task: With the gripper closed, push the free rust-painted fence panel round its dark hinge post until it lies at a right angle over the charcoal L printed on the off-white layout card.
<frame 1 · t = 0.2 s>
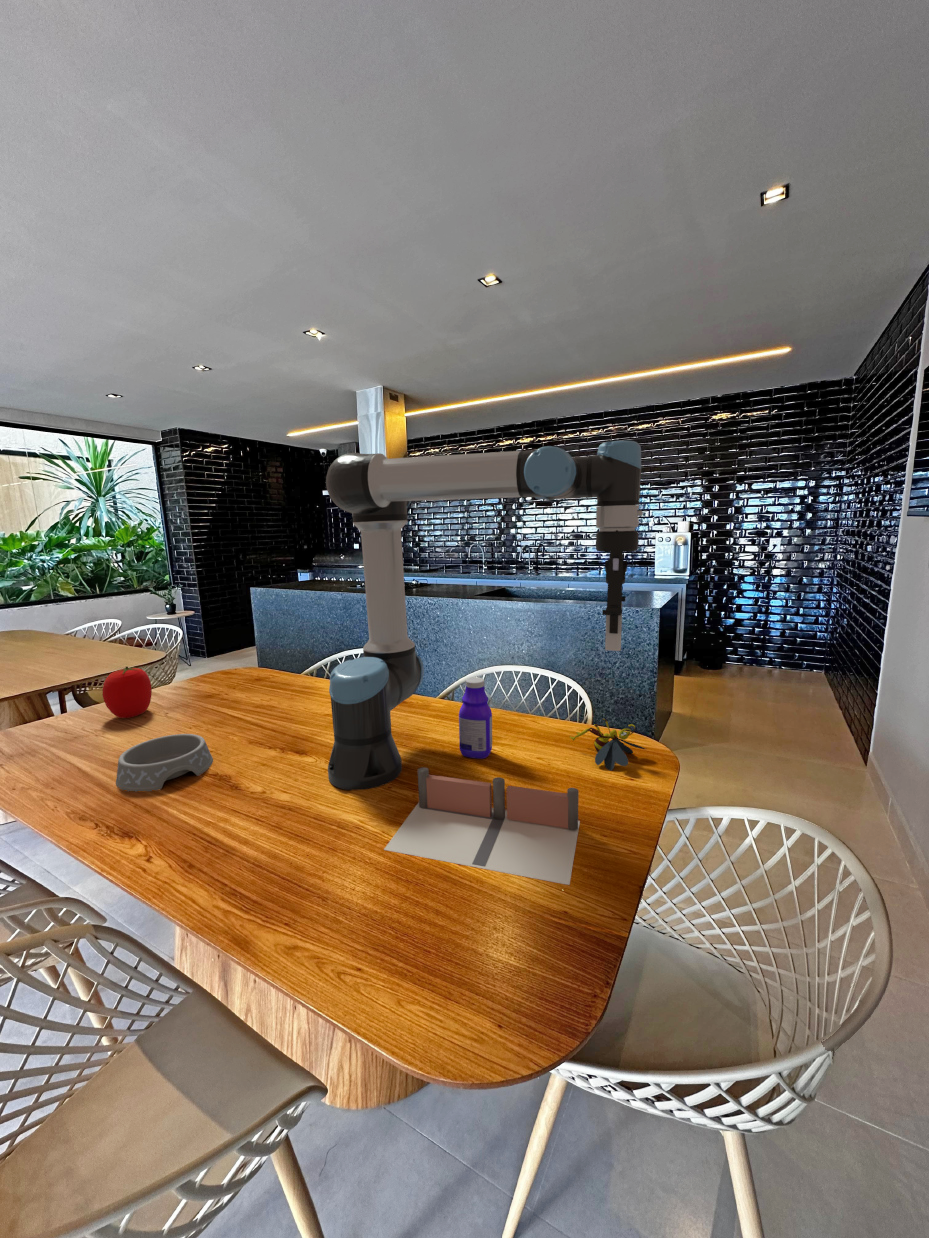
hand: (613, 641, 98), 28 cm above the table, fingers open, 13 cm apart
dog bowl: (166, 771, 110), on the table
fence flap: (542, 804, 85), point 4 cm above the table, hinge at 0.0°
bottle: (476, 755, 113), on the table
tomato: (132, 715, 143), on the table
toy: (603, 757, 110), on the table
layout card: (485, 836, 83), on the table
fence fixed: (499, 817, 88), resting on layout card
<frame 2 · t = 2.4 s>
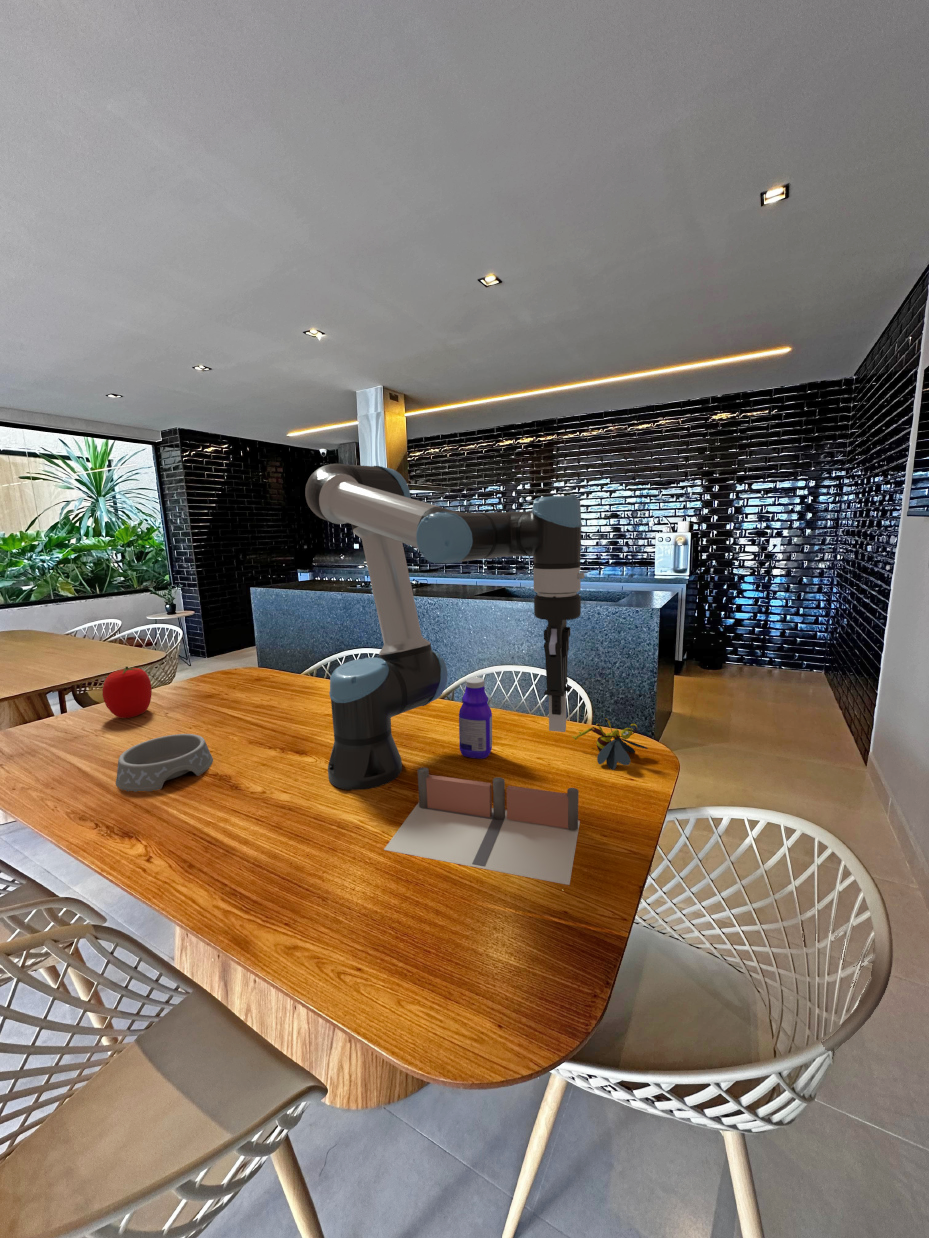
hand: (557, 729, 87), 16 cm above the table, fingers closed
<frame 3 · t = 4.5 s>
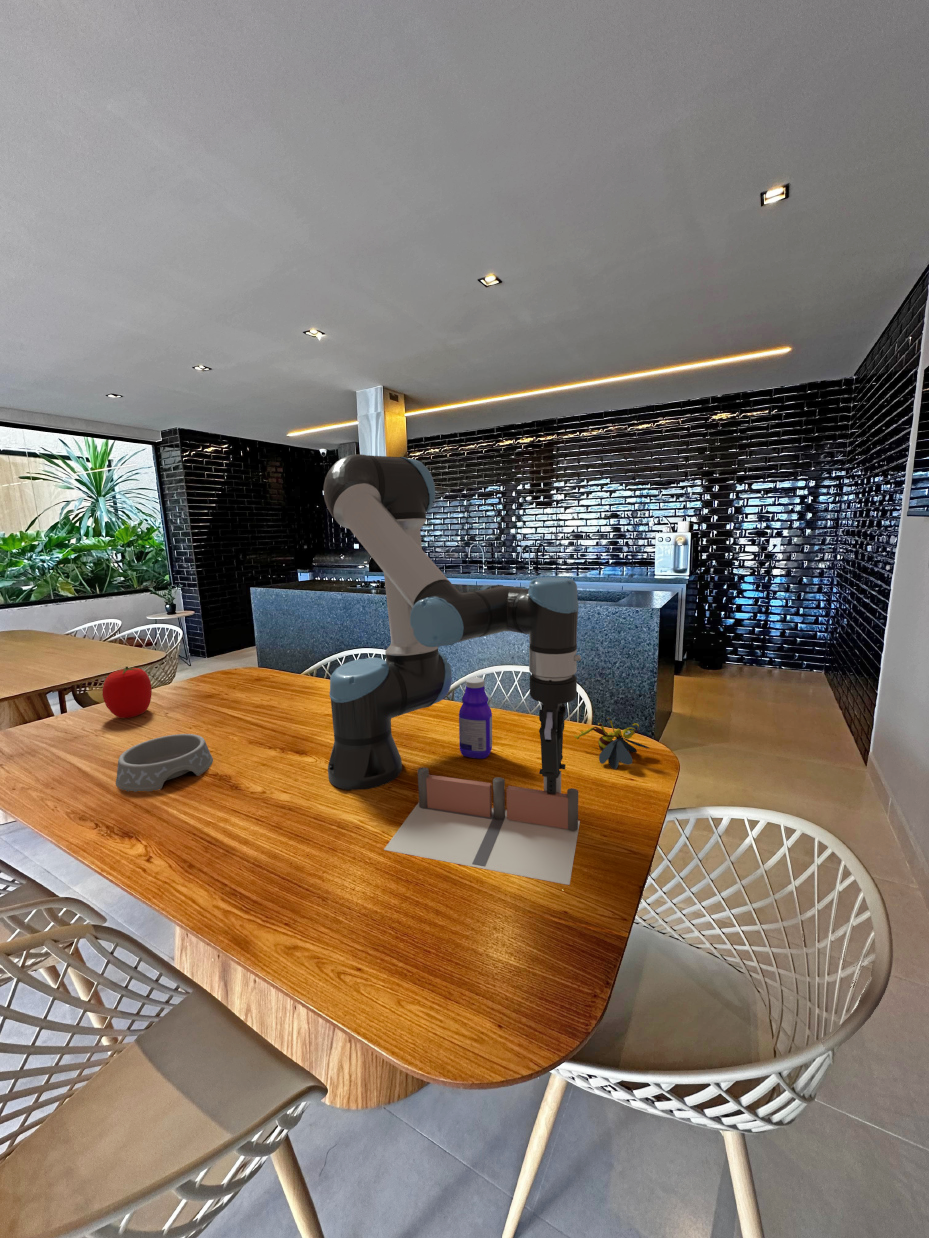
hand: (552, 807, 86), 3 cm above the table, fingers closed
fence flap: (542, 804, 85), point 4 cm above the table, hinge at 0.9°
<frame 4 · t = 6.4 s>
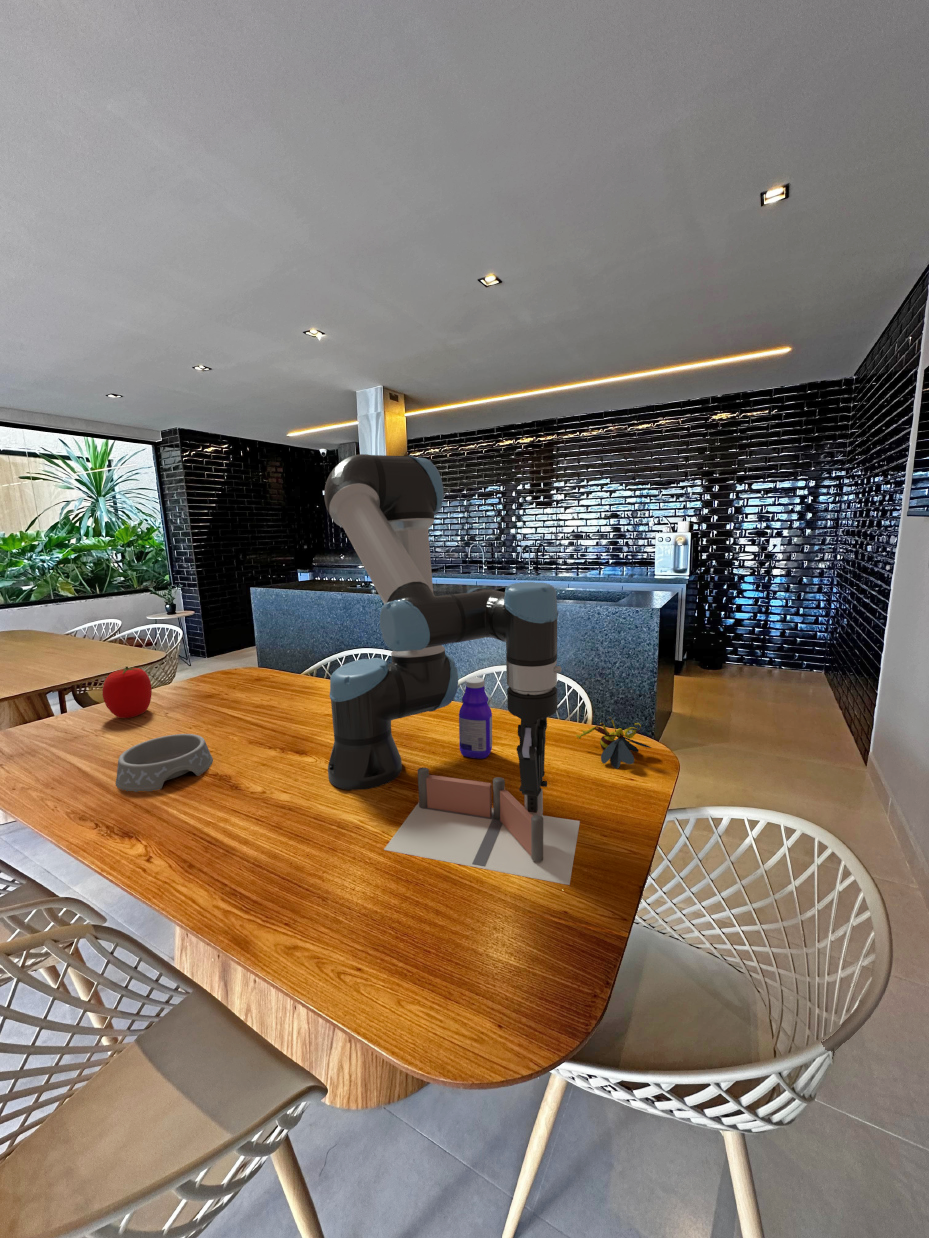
hand: (533, 825, 81), 3 cm above the table, fingers closed
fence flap: (520, 820, 81), point 4 cm above the table, hinge at 48.8°, touching gripper
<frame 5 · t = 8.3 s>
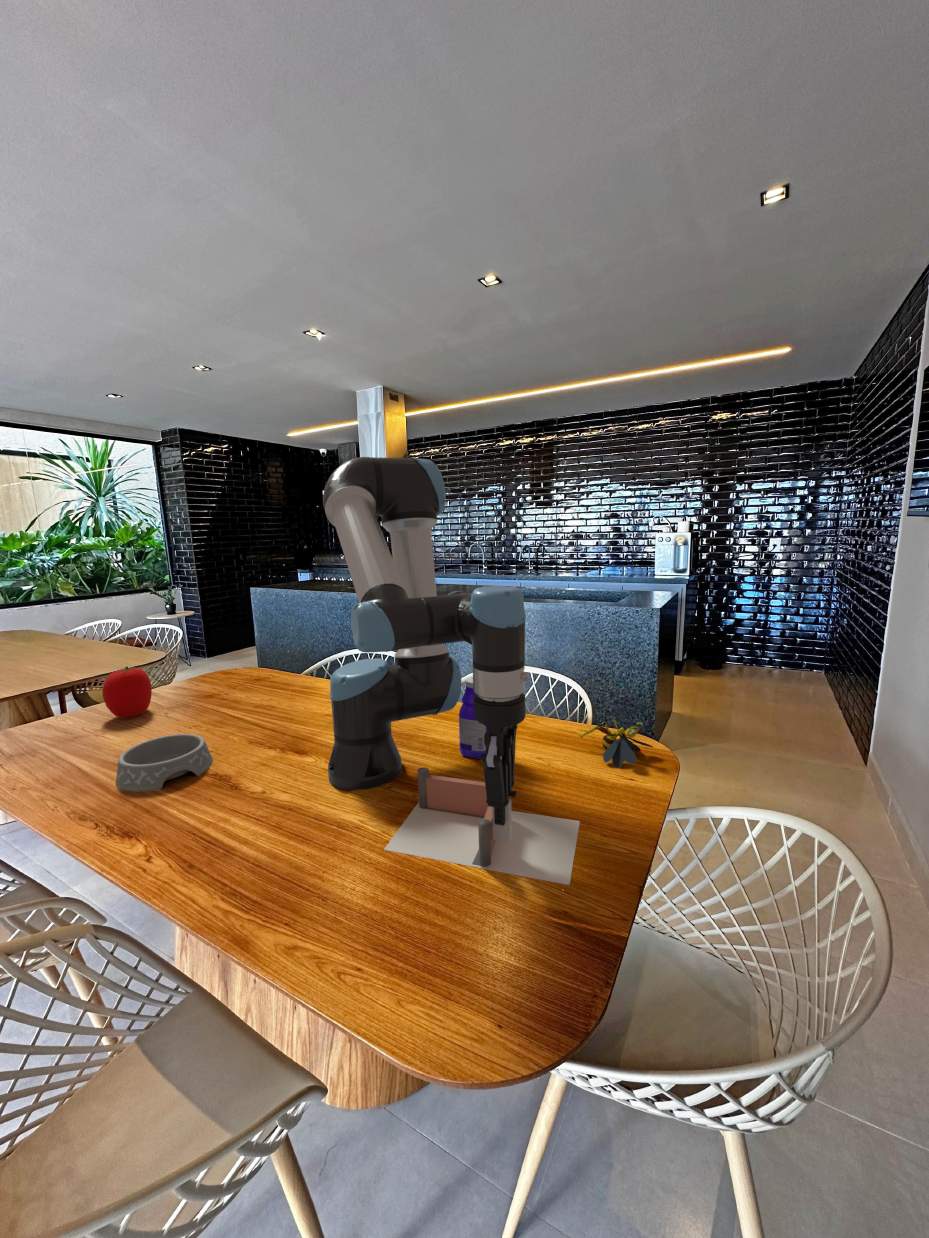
hand: (502, 838, 78), 3 cm above the table, fingers closed
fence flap: (491, 823, 80), point 4 cm above the table, hinge at 85.9°, touching gripper
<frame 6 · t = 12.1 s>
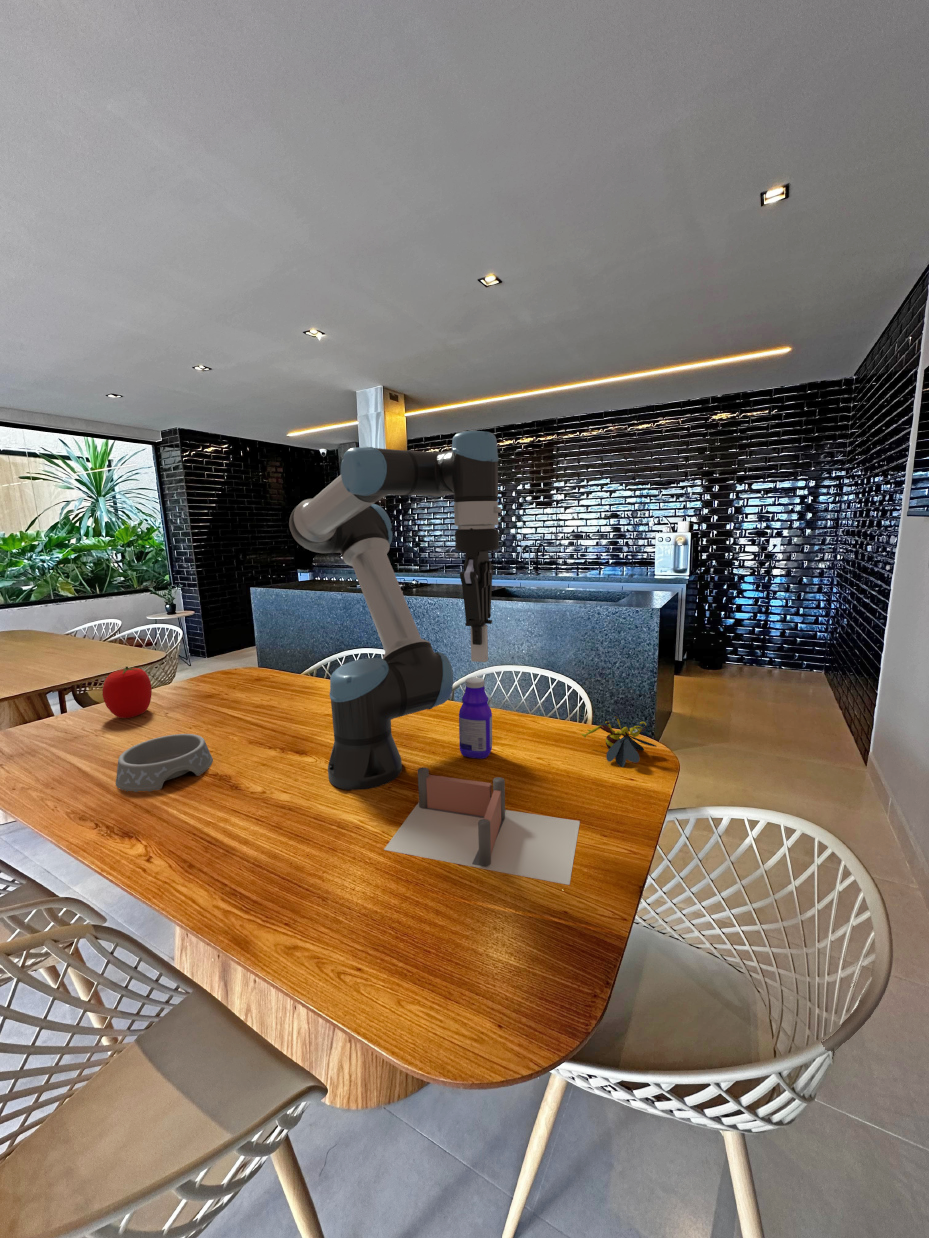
hand: (479, 660, 91), 26 cm above the table, fingers closed
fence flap: (490, 823, 80), point 4 cm above the table, hinge at 86.0°
at the end: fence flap at +86° (first picture: +0°); the gripper is holding nothing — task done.
